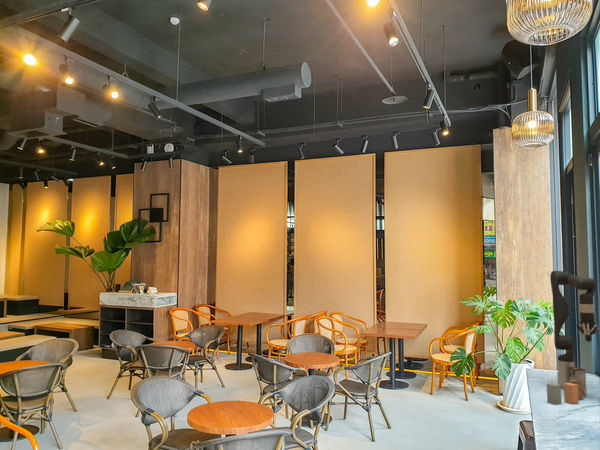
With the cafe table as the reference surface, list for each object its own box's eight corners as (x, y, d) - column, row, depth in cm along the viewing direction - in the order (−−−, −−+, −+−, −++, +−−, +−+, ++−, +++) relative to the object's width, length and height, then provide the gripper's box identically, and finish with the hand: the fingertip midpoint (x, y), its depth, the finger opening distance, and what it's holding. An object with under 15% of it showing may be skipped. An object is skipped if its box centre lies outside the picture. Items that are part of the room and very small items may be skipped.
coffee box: (569, 393, 277) (568, 366, 279) (581, 393, 276) (579, 366, 278) (575, 397, 268) (574, 369, 270) (587, 397, 267) (585, 369, 269)
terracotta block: (564, 401, 258) (563, 383, 259) (569, 400, 260) (569, 382, 261) (573, 403, 253) (572, 385, 254) (578, 402, 256) (577, 384, 257)
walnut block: (569, 398, 265) (568, 380, 266) (574, 397, 268) (573, 379, 269) (577, 400, 261) (576, 382, 262) (582, 399, 263) (581, 381, 264)
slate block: (547, 402, 256) (546, 383, 257) (553, 401, 258) (552, 383, 260) (555, 404, 252) (555, 385, 253) (561, 403, 254) (560, 385, 255)
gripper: (602, 312, 266) (604, 342, 264) (579, 310, 278) (581, 339, 276) (594, 312, 263) (596, 343, 261) (572, 311, 274) (573, 340, 272)
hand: (588, 341), depth 268 cm, fingers closed
